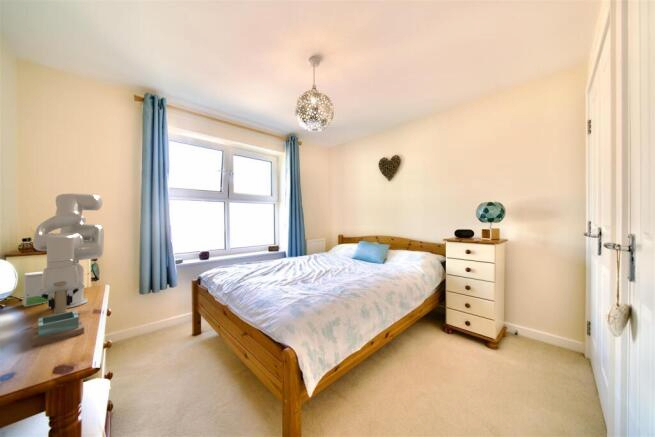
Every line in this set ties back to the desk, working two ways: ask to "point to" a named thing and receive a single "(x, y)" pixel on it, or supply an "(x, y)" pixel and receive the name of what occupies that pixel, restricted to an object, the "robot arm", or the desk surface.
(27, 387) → the desk surface
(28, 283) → the skincare box
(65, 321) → the teal open box
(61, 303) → the handle
